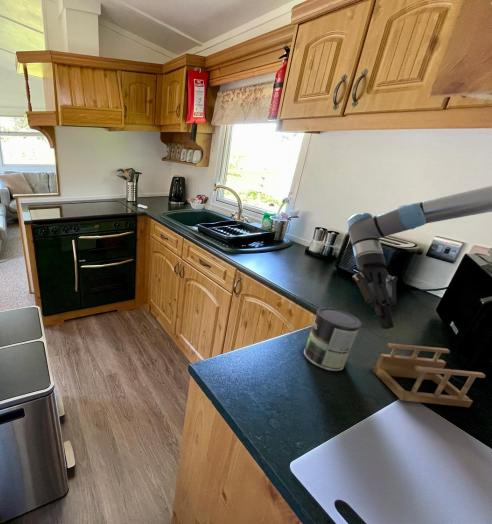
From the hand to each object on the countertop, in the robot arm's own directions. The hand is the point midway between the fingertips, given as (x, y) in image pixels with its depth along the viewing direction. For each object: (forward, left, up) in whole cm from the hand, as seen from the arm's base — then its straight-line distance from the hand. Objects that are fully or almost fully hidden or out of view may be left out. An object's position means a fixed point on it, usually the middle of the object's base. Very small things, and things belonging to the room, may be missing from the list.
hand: (387, 327), depth 86 cm
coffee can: (+11, +18, -8) cm, 23 cm away
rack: (-10, +12, -8) cm, 17 cm away
